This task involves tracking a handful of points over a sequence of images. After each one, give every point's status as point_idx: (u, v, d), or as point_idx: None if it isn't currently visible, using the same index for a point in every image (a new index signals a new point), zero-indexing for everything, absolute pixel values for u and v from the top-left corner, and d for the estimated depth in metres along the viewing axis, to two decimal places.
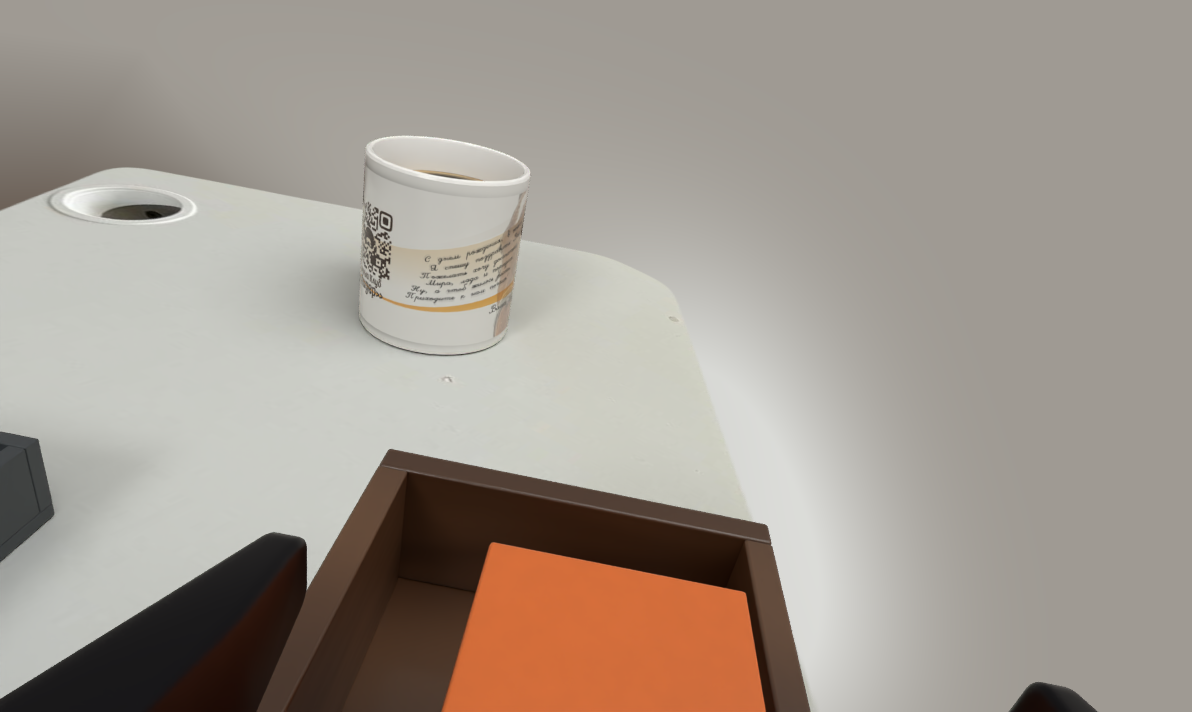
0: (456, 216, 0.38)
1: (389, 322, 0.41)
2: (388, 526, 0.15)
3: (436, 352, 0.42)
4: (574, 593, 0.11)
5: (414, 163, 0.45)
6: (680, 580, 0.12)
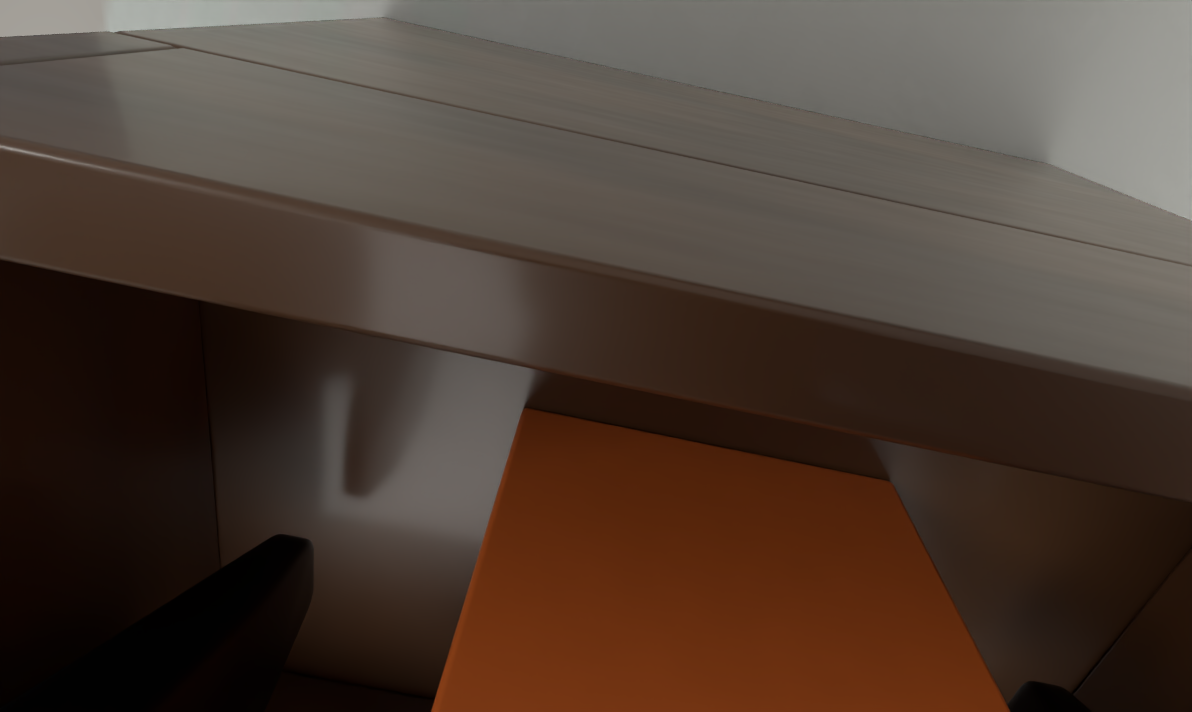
0: None
1: None
2: None
3: None
4: None
5: None
6: None
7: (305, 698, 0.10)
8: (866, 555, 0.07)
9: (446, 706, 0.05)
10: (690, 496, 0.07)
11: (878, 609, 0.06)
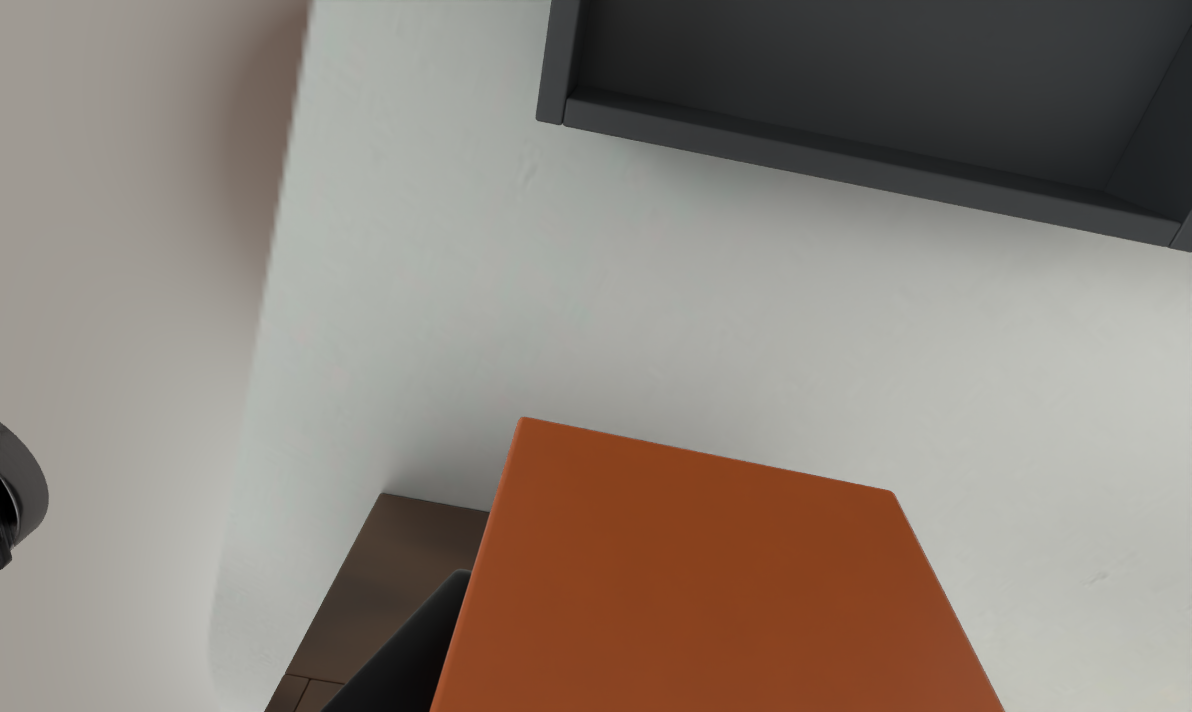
0: None
1: None
2: None
3: None
4: None
5: None
6: None
7: None
8: (867, 567, 0.07)
9: None
10: (688, 506, 0.07)
11: (879, 624, 0.06)
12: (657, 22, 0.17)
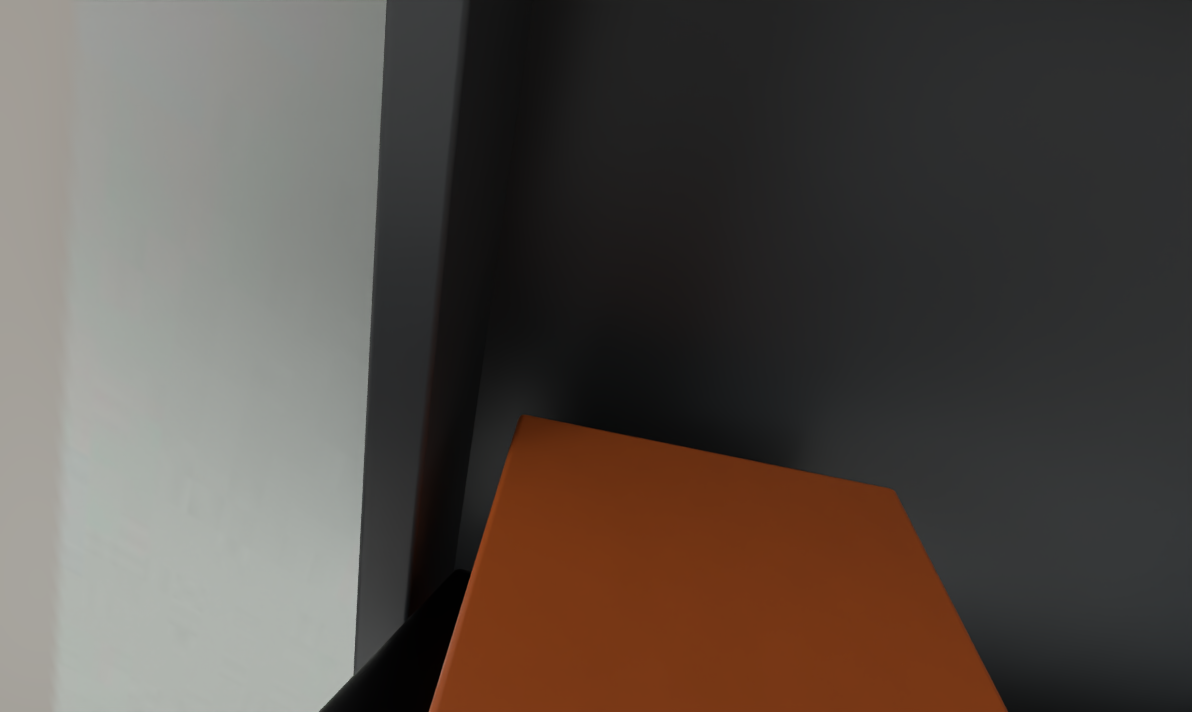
0: None
1: None
2: None
3: None
4: None
5: None
6: None
7: None
8: (869, 565, 0.07)
9: None
10: (689, 504, 0.07)
11: (881, 621, 0.06)
12: None
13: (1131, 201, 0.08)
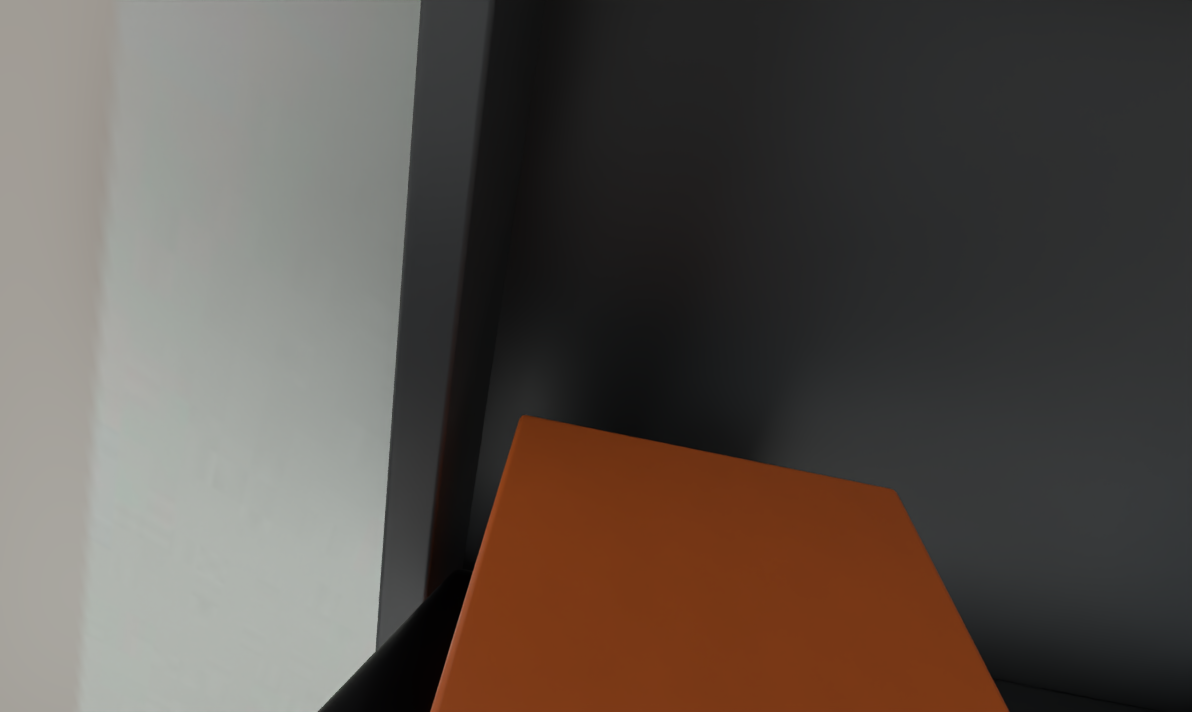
0: None
1: None
2: None
3: None
4: None
5: None
6: None
7: None
8: (870, 566, 0.07)
9: None
10: (690, 504, 0.07)
11: (882, 622, 0.06)
12: None
13: (1103, 184, 0.09)
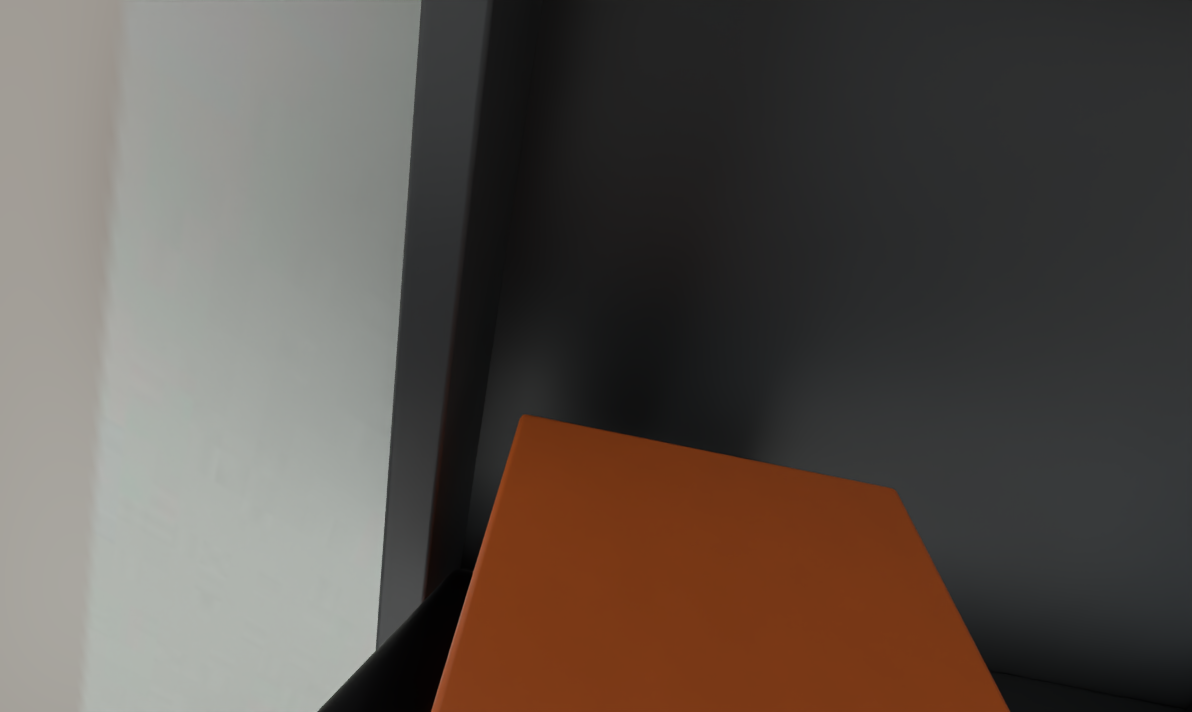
0: None
1: None
2: None
3: None
4: None
5: None
6: None
7: None
8: (870, 565, 0.07)
9: None
10: (690, 504, 0.07)
11: (883, 621, 0.06)
12: None
13: (1085, 183, 0.09)
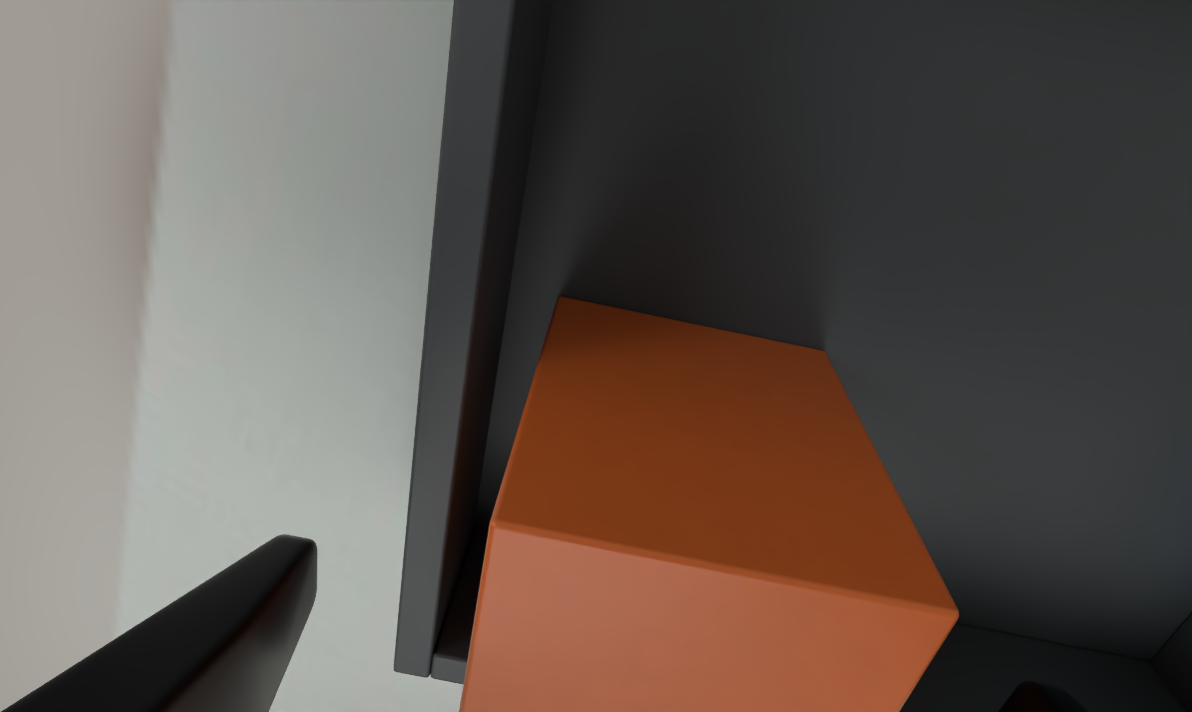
0: None
1: None
2: None
3: None
4: (824, 703, 0.07)
5: None
6: None
7: None
8: (798, 384, 0.10)
9: (527, 425, 0.08)
10: (677, 347, 0.10)
11: (801, 409, 0.09)
12: None
13: (1042, 165, 0.10)
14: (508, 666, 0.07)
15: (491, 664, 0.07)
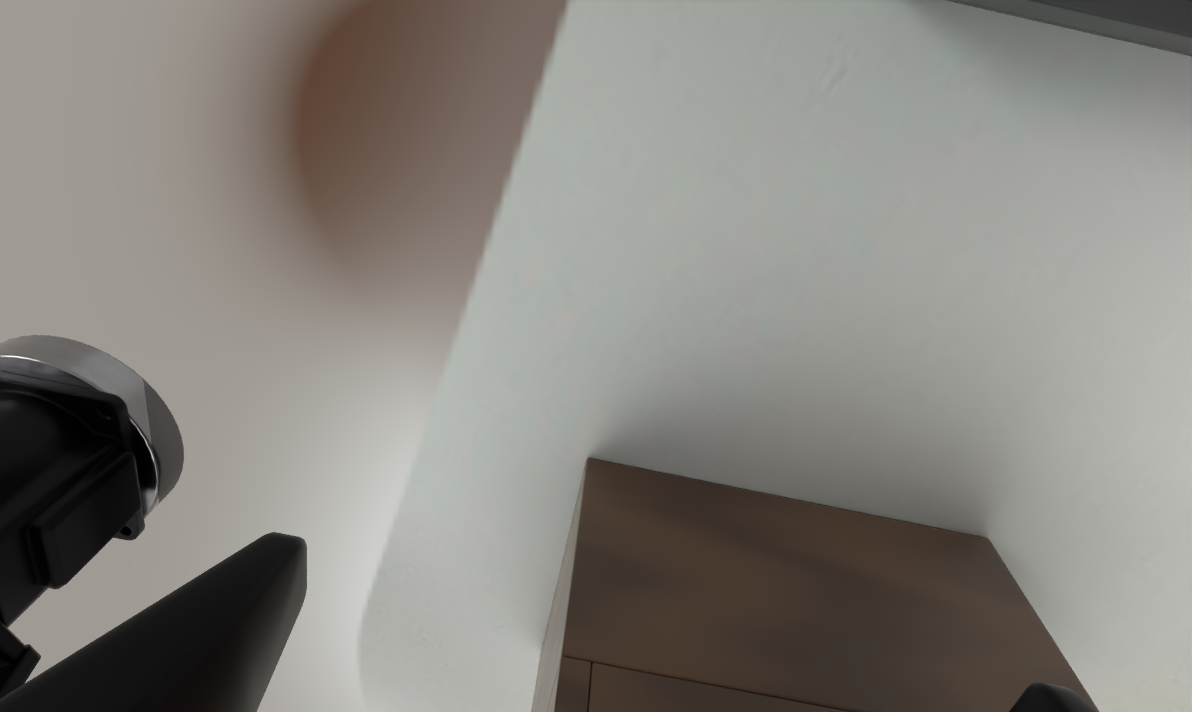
0: None
1: None
2: None
3: None
4: None
5: None
6: None
7: None
8: None
9: None
10: None
11: None
12: None
13: None
14: None
15: None
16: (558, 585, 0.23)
